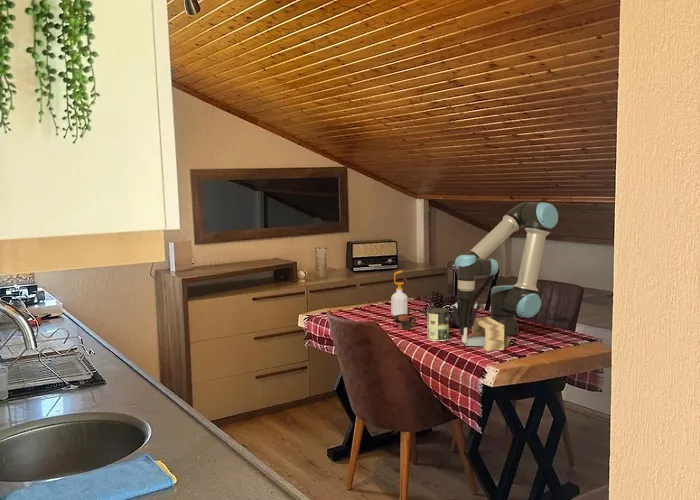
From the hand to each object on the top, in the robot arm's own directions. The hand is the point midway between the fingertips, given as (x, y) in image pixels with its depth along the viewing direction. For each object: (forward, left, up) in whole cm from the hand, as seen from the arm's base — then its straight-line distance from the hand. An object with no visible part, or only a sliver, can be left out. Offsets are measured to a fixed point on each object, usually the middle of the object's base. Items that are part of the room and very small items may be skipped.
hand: (464, 341), depth 301 cm
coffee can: (+7, -17, -3) cm, 18 cm away
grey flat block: (-8, -2, -2) cm, 8 cm away
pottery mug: (+15, -43, -3) cm, 46 cm away
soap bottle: (+10, -75, -3) cm, 75 cm away
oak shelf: (-13, -1, -2) cm, 14 cm away
